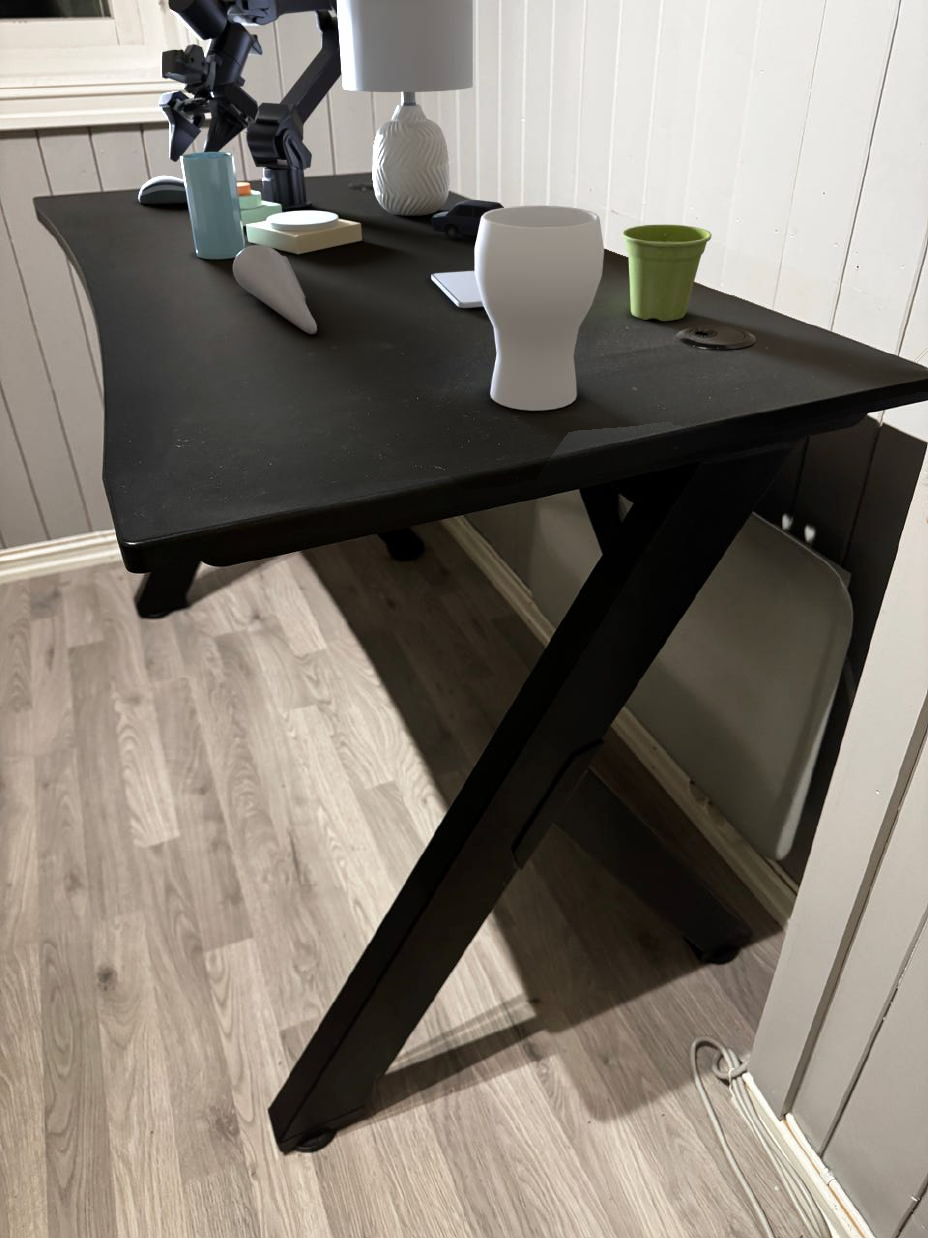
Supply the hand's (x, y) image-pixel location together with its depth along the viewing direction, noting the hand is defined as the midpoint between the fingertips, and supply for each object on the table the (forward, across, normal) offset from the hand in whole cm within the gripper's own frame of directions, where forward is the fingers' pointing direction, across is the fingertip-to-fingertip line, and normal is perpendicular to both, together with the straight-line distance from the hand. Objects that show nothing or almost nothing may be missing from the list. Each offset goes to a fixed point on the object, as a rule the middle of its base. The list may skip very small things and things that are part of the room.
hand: (189, 158), depth 138 cm
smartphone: (+14, +57, +10) cm, 59 cm away
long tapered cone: (+26, +46, -8) cm, 54 cm away
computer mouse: (-1, -24, +13) cm, 27 cm away
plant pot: (+12, +79, +16) cm, 81 cm away
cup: (+30, +84, -6) cm, 89 cm away
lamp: (-10, +16, +31) cm, 36 cm away
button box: (+3, 0, +12) cm, 13 cm away
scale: (+7, +19, +11) cm, 23 cm away
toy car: (-3, +38, +27) cm, 46 cm away
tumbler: (+15, +16, +1) cm, 22 cm away
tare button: (0, 0, +10) cm, 10 cm away
